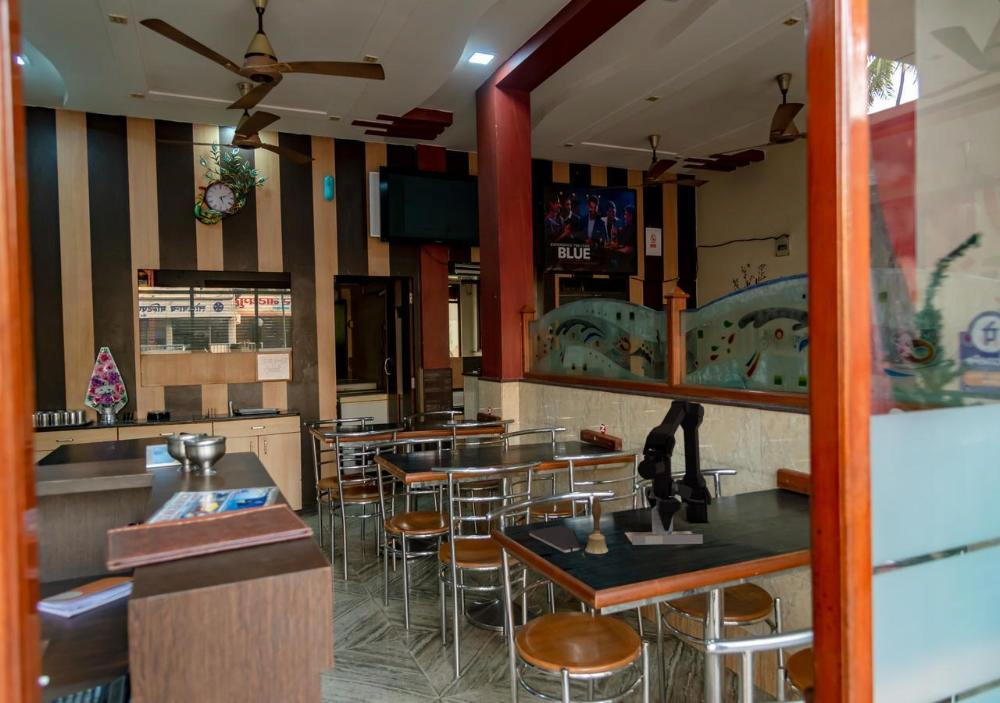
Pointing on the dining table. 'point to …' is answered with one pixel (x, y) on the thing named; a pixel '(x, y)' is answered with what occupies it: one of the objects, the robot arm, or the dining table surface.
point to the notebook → (558, 538)
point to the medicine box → (659, 524)
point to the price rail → (667, 539)
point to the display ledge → (651, 534)
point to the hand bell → (596, 532)
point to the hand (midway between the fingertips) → (662, 526)
